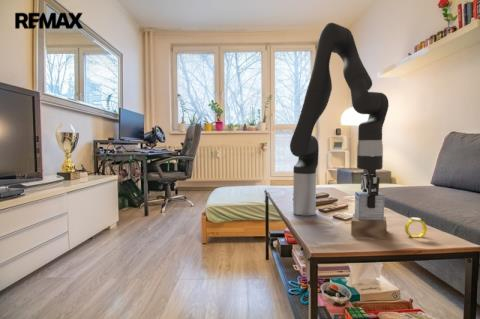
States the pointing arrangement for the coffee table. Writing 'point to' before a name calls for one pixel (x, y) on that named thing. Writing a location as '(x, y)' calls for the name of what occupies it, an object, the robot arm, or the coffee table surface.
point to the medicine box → (369, 213)
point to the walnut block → (369, 228)
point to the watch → (416, 221)
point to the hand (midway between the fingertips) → (368, 205)
